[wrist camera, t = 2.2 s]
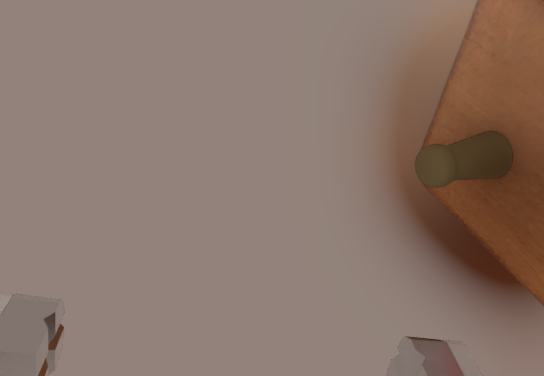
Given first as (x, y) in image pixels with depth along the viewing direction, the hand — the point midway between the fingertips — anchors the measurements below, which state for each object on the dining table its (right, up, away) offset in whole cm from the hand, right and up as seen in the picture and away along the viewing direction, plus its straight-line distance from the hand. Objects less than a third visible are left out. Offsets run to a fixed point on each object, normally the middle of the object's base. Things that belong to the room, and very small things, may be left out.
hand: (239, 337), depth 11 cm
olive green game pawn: (+29, +8, +49) cm, 57 cm away
